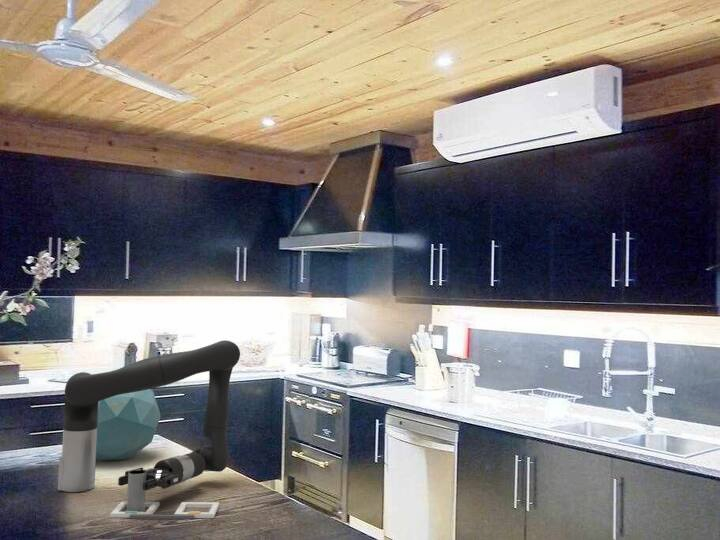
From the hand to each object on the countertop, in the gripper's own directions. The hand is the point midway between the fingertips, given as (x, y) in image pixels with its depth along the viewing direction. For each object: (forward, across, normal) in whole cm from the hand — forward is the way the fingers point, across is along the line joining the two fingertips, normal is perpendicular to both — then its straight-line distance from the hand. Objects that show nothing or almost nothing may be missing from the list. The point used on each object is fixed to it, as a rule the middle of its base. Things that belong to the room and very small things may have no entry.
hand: (131, 484), depth 175 cm
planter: (-2, 0, +8) cm, 8 cm away
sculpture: (-40, -48, +8) cm, 63 cm away
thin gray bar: (-1, +10, +8) cm, 12 cm away
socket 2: (-10, +14, +8) cm, 19 cm away
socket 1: (-2, 0, +8) cm, 8 cm away
